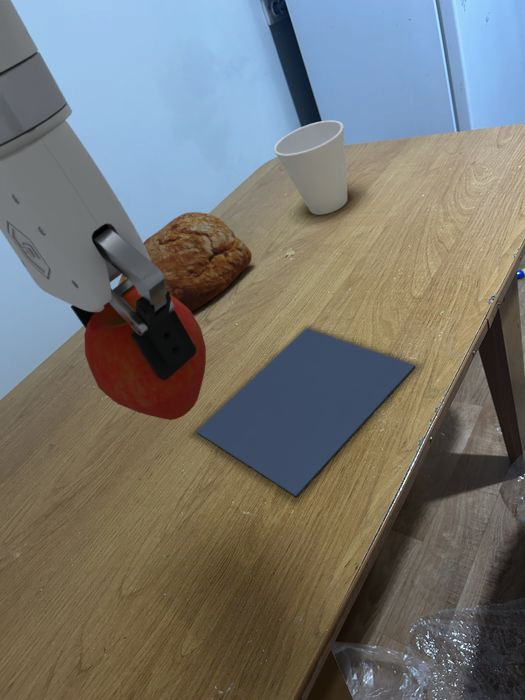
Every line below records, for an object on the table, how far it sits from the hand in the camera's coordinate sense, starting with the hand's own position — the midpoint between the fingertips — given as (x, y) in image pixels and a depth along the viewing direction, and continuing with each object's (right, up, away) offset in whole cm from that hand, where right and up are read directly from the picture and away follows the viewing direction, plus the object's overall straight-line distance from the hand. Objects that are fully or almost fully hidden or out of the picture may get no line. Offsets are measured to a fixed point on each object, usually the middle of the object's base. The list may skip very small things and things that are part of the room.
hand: (144, 348), depth 42 cm
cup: (+20, +25, +60) cm, 68 cm away
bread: (-5, +10, +55) cm, 56 cm away
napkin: (+13, -6, +24) cm, 28 cm away
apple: (+2, -5, +4) cm, 7 cm away
